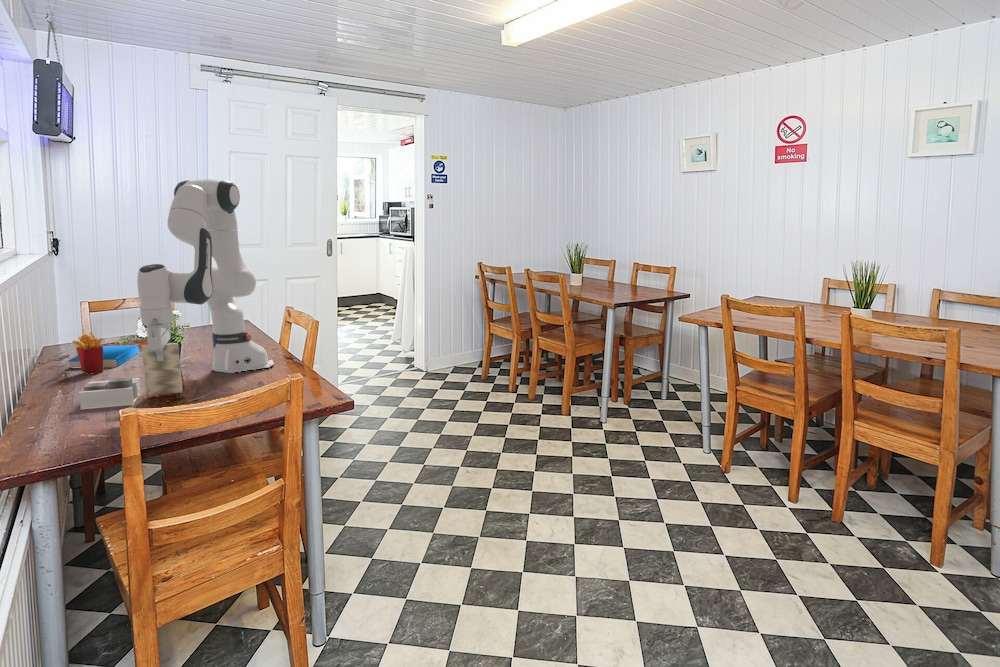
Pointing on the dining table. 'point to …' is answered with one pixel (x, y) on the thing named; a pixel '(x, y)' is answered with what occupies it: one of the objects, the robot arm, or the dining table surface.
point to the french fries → (90, 354)
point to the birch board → (162, 370)
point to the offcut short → (96, 386)
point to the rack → (110, 396)
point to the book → (111, 355)
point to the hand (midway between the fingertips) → (161, 359)
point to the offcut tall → (120, 383)
